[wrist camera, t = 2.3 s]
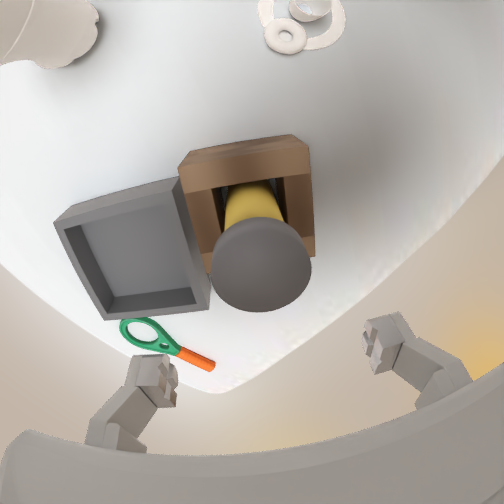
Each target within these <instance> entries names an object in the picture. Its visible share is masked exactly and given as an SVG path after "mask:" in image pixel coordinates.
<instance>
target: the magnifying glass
mask: <svg viewBox="0 0 504 504" xmlns="http://www.w3.org/2000/svg"><path fill="white" fill-rule="evenodd" d="M131 322H141V323H145V324H147V325H149V326H151V327H152V328H153V329H154V330H155V331H156V332H157V333H158V338H157V339H156V340H154V341H151V342H146V341H141V340H138V339H136V338H135V337H133V336H132V335H131V334H130V333H129V331H128V329H127V325H128V324H129V323H131ZM119 329H120V332H121V334H122V336H123V337H124V338H125V339H126V340H127V341H129V342H130V343H131V344H133V345H135V346H137V347H140V348H143V349H147V350H151V351H156V352H160V353H165V354H170V355H173V356H176V357H179V358H181V359H183V360H185V361H187V362H189V363H191V364H193V365H195V366H197V367H199V368H201V369H204V370H206V371H208V372H211V371H212V370H213V369H214V368H215V363H214V362H212V361H210V360H208V359H206V358H204V357H202V356H200V355H198V354H196V353H194V352H192V351H190V350H188V349H186V348H184V347H182V346H180V345H178V344H177V343H176V342H175V341H174V340H173V339H172V338H171V337H170V336H169V335H168V334H167V332H166V331H165V330H164V329H163V328H162V327H161V326H160V325H159V324H158V323H157V322H155V321H154V320H152V319H150V318H148V317H140V318H129V319H122V320H121V322H120V326H119ZM161 343H166V344H168V345H163V344H161Z"/></svg>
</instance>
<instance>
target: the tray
mask: <svg viewBox="0 0 504 504" xmlns="http://www.w3.org/2000/svg"><path fill="white" fill-rule="evenodd" d="M53 224H54V226H55V229H56V231H57V233H58V235H59V238H60V240H61V242H62V244H63V246H64V249H65V251H66V253H67V255H68V257H69V259H70V261H71V263H72V265H73V267H74V269H75V271H76V273H77V274H78V276H79V278H80V280H81V282H82V284H83V286H84V287H85V289H86V291H87V293H88V294H89V296H90V298H91V300H92V301H93V303H94V305H95V306H96V308H97V310H98V311H99V313H100V315H101V316H102V318H103V319H104V321H105V320H118V319H129V318H140V317H151V316H160V315H169V314H178V313H187V312H195V311H203V310H209V303H210V291H211V284H210V281H209V277H208V274H206V270H205V267H204V264H203V260H202V257H201V254H200V250H199V247H198V243H197V240H196V236H195V233H194V229H193V226H192V222H191V218H190V215H189V211H188V207H187V204H186V200H185V196H184V192H183V188H182V184H181V181H180V177H179V176H178V177H173V178H169V179H165V180H160V181H156V182H152V183H148V184H144V185H140V186H137V187H133V188H129V189H125V190H122V191H118V192H115V193H111V194H108V195H104V196H101V197H98V198H95V199H91V200H88V201H85V202H82V203H79V204H76V205H73V206H71V207H69V208H68V209H67V210H66V211H65V212H64V213H63V214H62V215H61V216H59V217H58V218H57V219H56V220H55V221H54V222H53Z"/></svg>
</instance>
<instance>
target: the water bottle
mask: <svg viewBox="0 0 504 504" xmlns="http://www.w3.org/2000/svg"><path fill="white" fill-rule="evenodd" d="M98 21H99V15H98V13H97V11H96V9H95V8H94V7H93V5H92V4H90V3H89V2H87V1H86V0H0V66H1V65H3V64H6V63H9V62H13V61H19V60H31V61H34V62H35V63H36V64H37V65H38V66H40V67H42V68H45V69H54V68H60V67H64V66H67V65H68V64H70V63H72V62H73V61H74V59H76V58H78V57H80V56H82V55H83V54H85V53H86V52H87V51H89V50H90V48H91V47H92V46H93V44H94V43H95V41H96V38H97V34H98V30H97V27H96V26H95V23H96V22H98Z"/></svg>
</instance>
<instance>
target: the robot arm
mask: <svg viewBox="0 0 504 504" xmlns="http://www.w3.org/2000/svg"><path fill="white" fill-rule="evenodd" d="M364 327H365V329H366V331H365V332H364V333H363V336H362V345H363V349H364V351H365V354H366V355H368V356H369V357H371V358H370V362H369V363H370V365H371V368H372V370H373V372H374V374H379V373H382V372H385V371H389V370H392V369H393V371H394V372H395V373H396V374H398V375H399V376H400V377H402V378H403V379H404V380H405V381H407V382H408V383H410V384H411V385H412V386H413V387H415V388H416V389H418V390H419V391H420V392H421V394H420V396H419V397H418V399H417V400H416V402H415V406H416V408H417V410H416V411H413V412H411V413H409V414H406V415H404V416H401V417H399V418H396V419H393V420H391V421H388V422H385V423H382V424H380V425H377V426H374V427H371V428H367V429H364V430H361V431H358V432H354V433H351V434H347V435H344V436H340V437H336V438H332V439H328V440H324V441H320V442H315V443H311V444H306V445H300V446H295V447H289V448H283V449H277V450H270V451H262V452H253V453H242V454H229V455H201V456H188V455H185V456H184V455H160V454H147V453H146V451H147V447H146V446H145V445H144V444H143V443H142V442H140V441H139V440H138V439H137V438H138V437H139V435H140V434H141V432H142V431H143V429H144V428H145V427H146V425H147V424H148V422H149V421H150V419H151V418H152V416H153V415H154V414H155V412H156V411H157V408H167V407H176V397H177V394H176V392H175V391H174V389H175V388H176V387H177V386H178V374H177V370H176V368H175V366H174V365H173V364H171V363H170V358H169V356H168V355H167V354H155V355H133V357H132V358H131V361H130V365H129V369H128V373H127V377H126V381H125V386H121V387H120V388H119V390H118V391H117V392H116V393H115V394H114V395H113V396H112V397H111V398H110V399H109V400H108V401H107V402H106V403H105V404H104V405H103V406H102V408H100V410H99V411H98V412H97V413H96V414H95V415H94V416H93V417H92V418H91V419H90V422H89V426H88V430H87V435H86V439H85V444H81V443H76V442H72V441H68V440H64V439H60V438H56V437H53V436H49V435H46V434H43V433H40V432H37V431H34V430H25V431H24V432H22V433H21V434H20V435H19V436H18V437H16V438H15V439H14V440H13V441H12V442H11V443H10V444H9V445H8V447H7V448H6V451H5V453H4V456H3V458H2V462H1V465H0V504H504V362H503V363H502V364H500V365H499V366H497V367H496V368H495V369H493V370H491V371H490V372H488V373H486V374H485V375H483V376H482V377H480V378H478V379H477V380H475V381H473V380H472V378H471V377H470V375H469V373H468V372H467V370H466V368H465V367H464V365H463V363H462V362H461V360H460V359H458V358H457V357H454V356H453V355H451V354H449V353H447V352H445V351H444V350H442V349H440V348H438V347H436V346H434V345H432V344H431V343H429V342H427V341H425V340H423V339H421V338H416V337H415V335H414V334H413V332H412V330H411V329H410V327H409V326H408V324H407V322H406V321H405V319H404V318H403V316H402V315H401V313H400V312H395V313H392V314H388V315H383V316H380V317H377V318H373V319H370V320H367V321H366V322H365V325H364Z"/></svg>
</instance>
